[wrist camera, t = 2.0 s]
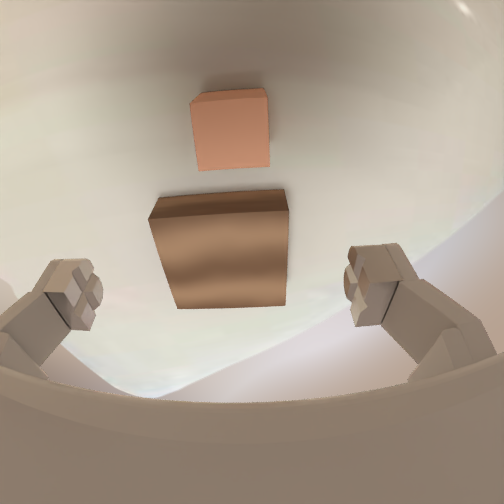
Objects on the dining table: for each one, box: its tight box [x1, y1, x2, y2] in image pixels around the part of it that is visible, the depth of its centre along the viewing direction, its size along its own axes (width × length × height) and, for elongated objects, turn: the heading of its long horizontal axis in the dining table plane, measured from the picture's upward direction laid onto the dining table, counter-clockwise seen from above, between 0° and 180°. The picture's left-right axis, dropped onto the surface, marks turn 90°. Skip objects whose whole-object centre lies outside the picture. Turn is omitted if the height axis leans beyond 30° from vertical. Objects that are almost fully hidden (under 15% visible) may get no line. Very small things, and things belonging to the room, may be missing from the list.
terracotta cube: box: [190, 88, 270, 171], centre depth 20 cm, size 5×5×5 cm
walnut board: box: [148, 189, 289, 309], centre depth 29 cm, size 12×12×4 cm
